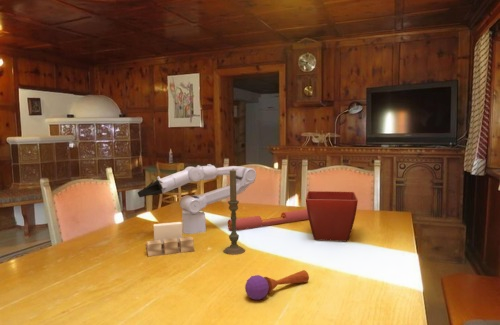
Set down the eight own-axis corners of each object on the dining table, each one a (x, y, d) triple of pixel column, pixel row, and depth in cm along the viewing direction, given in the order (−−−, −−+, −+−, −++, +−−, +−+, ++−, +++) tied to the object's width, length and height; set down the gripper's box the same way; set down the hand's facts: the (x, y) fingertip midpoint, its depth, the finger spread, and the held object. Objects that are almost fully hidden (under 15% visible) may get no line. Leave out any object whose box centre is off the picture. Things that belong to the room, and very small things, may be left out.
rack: (188, 242, 140) (188, 236, 140) (194, 253, 127) (194, 247, 127) (145, 247, 135) (145, 240, 135) (147, 259, 122) (147, 252, 122)
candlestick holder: (250, 250, 130) (249, 167, 127) (241, 259, 121) (240, 170, 118) (227, 248, 133) (225, 166, 130) (216, 256, 124) (215, 169, 121)
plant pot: (307, 229, 157) (307, 190, 155) (353, 231, 153) (354, 191, 152) (305, 242, 138) (305, 198, 137) (357, 245, 134) (358, 200, 133)
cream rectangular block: (181, 242, 137) (181, 221, 136) (182, 244, 134) (182, 223, 133) (154, 245, 134) (153, 224, 133) (154, 248, 131) (154, 226, 130)
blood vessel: (232, 232, 154) (232, 221, 153) (227, 230, 158) (227, 218, 158) (312, 220, 173) (312, 210, 172) (306, 218, 177) (306, 208, 177)
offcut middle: (176, 249, 129) (176, 238, 129) (177, 252, 126) (177, 241, 125) (163, 250, 128) (163, 239, 128) (164, 254, 124) (164, 242, 124)
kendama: (314, 271, 100) (256, 285, 89) (310, 291, 101) (252, 306, 90) (299, 261, 105) (242, 273, 93) (295, 280, 106) (239, 293, 94)
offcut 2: (191, 247, 131) (191, 236, 131) (193, 250, 127) (193, 239, 127) (179, 248, 130) (179, 237, 129) (181, 252, 126) (180, 241, 125)
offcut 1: (160, 251, 128) (160, 239, 127) (161, 254, 124) (161, 243, 123) (147, 252, 126) (147, 241, 126) (148, 256, 122) (147, 244, 122)
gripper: (164, 174, 153) (133, 186, 146) (173, 170, 140) (139, 183, 133) (170, 190, 153) (139, 202, 147) (180, 187, 140) (146, 200, 134)
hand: (140, 194), depth 140 cm, fingers open, 7 cm apart
